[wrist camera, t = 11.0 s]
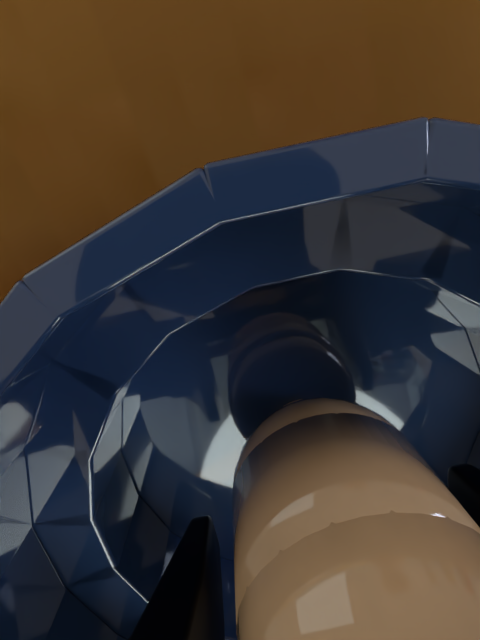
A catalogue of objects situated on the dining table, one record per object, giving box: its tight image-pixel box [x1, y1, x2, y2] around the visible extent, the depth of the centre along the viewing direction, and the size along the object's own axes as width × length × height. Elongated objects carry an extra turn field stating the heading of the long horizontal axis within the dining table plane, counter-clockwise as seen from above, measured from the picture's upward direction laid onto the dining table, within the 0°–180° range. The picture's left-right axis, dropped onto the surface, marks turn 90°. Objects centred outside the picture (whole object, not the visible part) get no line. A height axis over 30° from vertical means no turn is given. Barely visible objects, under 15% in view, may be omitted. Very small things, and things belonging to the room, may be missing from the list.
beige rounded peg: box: [232, 397, 480, 640], centre depth 6 cm, size 4×4×7 cm
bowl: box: [0, 117, 480, 640], centre depth 8 cm, size 14×14×5 cm
